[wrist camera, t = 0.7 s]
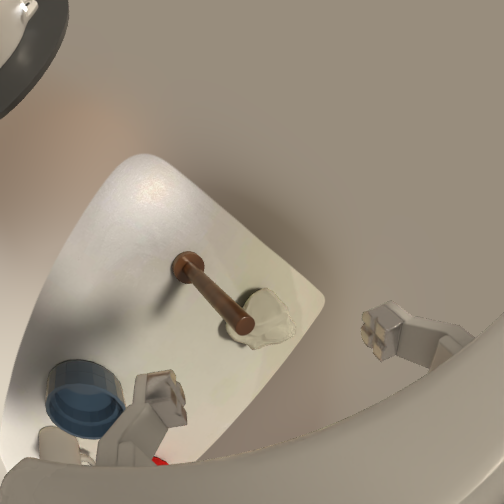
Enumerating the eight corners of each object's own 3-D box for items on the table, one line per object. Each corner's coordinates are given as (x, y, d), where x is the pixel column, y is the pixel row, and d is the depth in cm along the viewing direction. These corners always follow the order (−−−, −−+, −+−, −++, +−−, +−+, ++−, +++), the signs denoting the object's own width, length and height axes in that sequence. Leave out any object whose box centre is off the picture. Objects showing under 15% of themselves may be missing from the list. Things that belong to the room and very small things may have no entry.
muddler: (165, 265, 36) (213, 329, 22) (190, 244, 37) (252, 294, 23) (184, 286, 38) (239, 355, 24) (207, 267, 39) (274, 323, 25)
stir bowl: (34, 386, 29) (31, 411, 24) (76, 343, 32) (75, 368, 27) (93, 423, 35) (96, 448, 30) (137, 388, 38) (144, 413, 33)
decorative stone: (215, 332, 41) (265, 325, 35) (231, 286, 47) (278, 272, 41) (257, 360, 46) (305, 357, 40) (268, 317, 52) (313, 309, 46)
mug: (37, 442, 29) (39, 485, 20) (41, 420, 30) (41, 467, 20) (89, 457, 36) (98, 498, 27) (97, 437, 36) (107, 482, 27)
